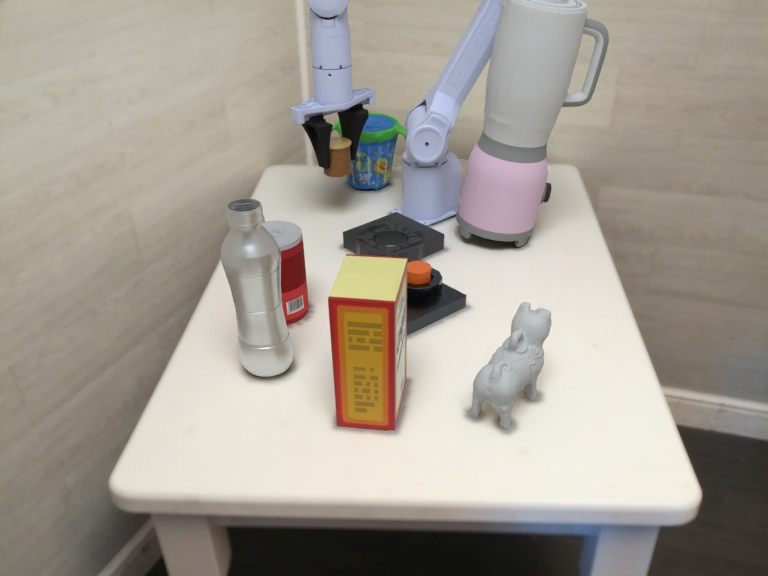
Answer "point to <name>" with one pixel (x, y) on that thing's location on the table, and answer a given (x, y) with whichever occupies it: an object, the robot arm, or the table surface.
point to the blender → (525, 113)
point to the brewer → (431, 302)
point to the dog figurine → (513, 364)
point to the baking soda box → (369, 340)
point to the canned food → (291, 269)
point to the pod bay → (394, 238)
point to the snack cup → (374, 151)
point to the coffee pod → (339, 157)
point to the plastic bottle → (256, 290)
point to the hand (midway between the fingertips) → (337, 162)
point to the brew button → (418, 272)
